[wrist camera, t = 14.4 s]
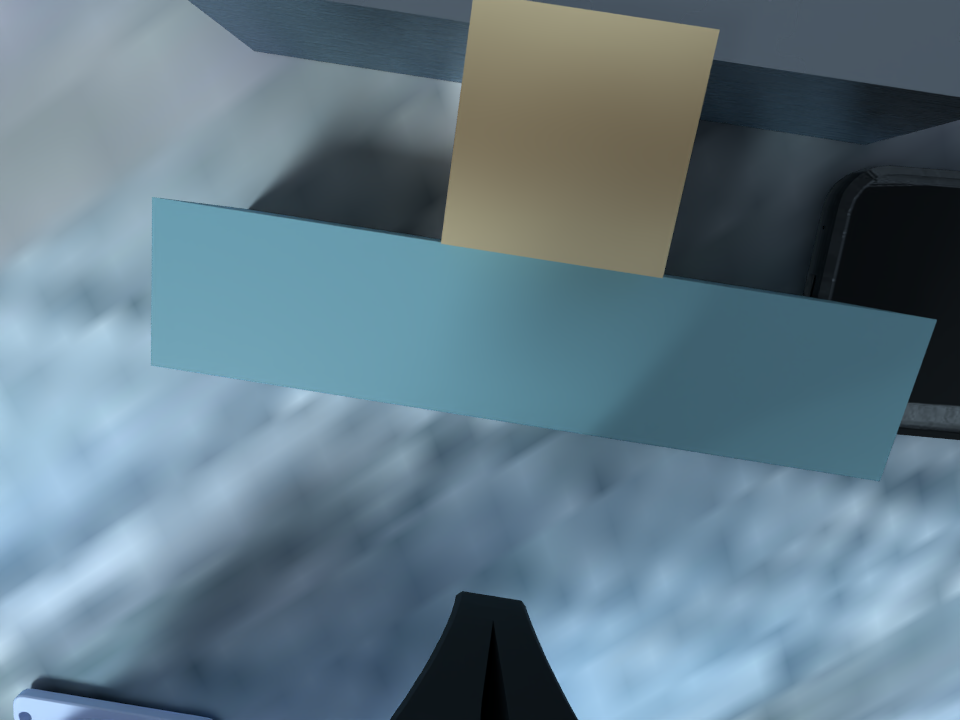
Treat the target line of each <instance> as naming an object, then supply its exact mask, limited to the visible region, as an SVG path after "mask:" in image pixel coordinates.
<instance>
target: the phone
mask: <svg viewBox="0 0 960 720" xmlns="http://www.w3.org/2000/svg"><path fill="white" fill-rule="evenodd" d="M823 226H825V229H822V228H823ZM815 275H816V280H815V284H814V289H813V293H812V298H817V299H823V300H830V301H836V302H841V303H847V304H853V305H858V306H864V307H869V308H875V309H880V310H886V311H891V312H897V313H902V314H908V315H913V316H919V317H924V318H930V319H936V320H937V322H936V324H935V327H934V330H933V333H932V336H931V338H930V341H929V344H928V347H927V350H926V352H925V355H924V358H923V361H922V364H921V367H920V369H919V372H918V375H917V378H916V381H915V383H914V386H913V389H912V392H911V395H910V398H909V400H908V403H907V406H906V409H905V412H904V414H903V417H902V420H901V423H900V426H899V428H898V431H897V434H900V435H911V436H922V437H933V438H944V439H955V440H960V171H951V170H939V169H926V168H914V167H902V166H880V167H874V168H869V169H864V170H859V171H856V172H854V173H851V174H849V175H846V176H845V177H844V178H842V179H841V180H840V181H839V182H837V183H836V184H835V185H834V187H833V188H832V189H831V191H830V192H829V193H828V195H827V197H826V199H825V202H824V205H823V207H822V212H821V216H820V221H819V225H818V230H817V234H816V239H815V243H814V248H813V252H812V257H811V261H810V266H809V270H808V275H807V279H806V284H805V288H804V293H803V296H806V297H810V294H811V290H812V285H813V281H814V276H815Z"/></svg>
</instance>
